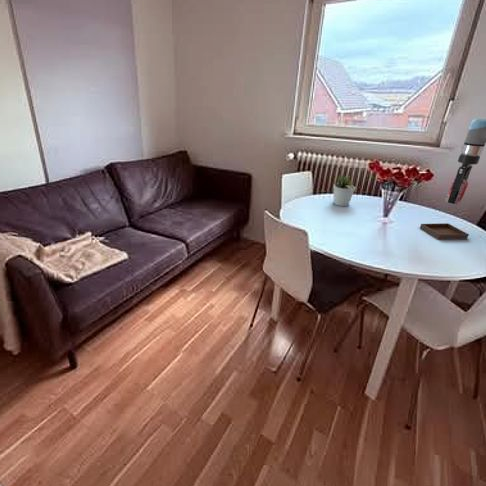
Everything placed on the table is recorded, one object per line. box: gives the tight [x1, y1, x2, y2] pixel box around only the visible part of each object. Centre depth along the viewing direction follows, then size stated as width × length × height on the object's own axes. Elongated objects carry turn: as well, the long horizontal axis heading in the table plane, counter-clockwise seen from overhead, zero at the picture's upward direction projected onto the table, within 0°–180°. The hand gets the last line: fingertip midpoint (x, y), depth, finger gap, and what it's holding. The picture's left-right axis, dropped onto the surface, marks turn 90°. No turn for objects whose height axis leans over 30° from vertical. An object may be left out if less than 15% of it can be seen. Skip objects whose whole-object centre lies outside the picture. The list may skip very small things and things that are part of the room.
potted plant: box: [331, 174, 356, 207], centre depth 192 cm, size 13×14×20 cm
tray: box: [419, 222, 470, 241], centre depth 158 cm, size 13×15×3 cm
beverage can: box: [445, 178, 469, 206], centre depth 150 cm, size 6×6×12 cm
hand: (453, 201), depth 152 cm, fingers closed on beverage can, 6 cm apart
